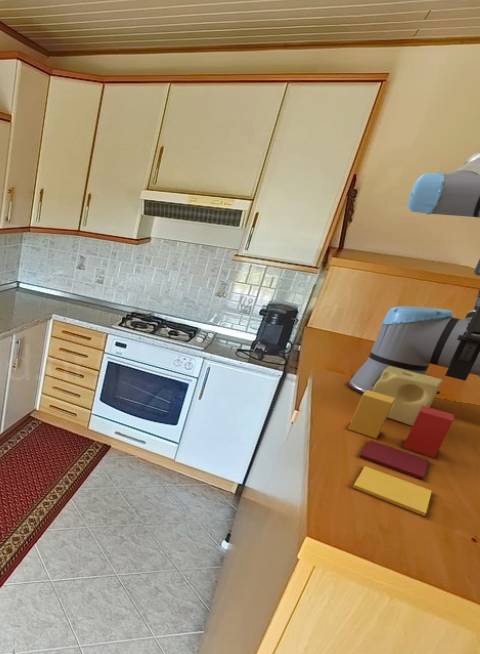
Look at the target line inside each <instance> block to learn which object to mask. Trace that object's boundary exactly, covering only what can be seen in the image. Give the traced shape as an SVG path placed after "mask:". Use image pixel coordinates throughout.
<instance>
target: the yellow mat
mask: <svg viewBox="0 0 480 654" xmlns="http://www.w3.org/2000/svg"><path fill="white" fill-rule="evenodd" d="M352 488H353V489H355V490H358V491H360V492H363V493H365V494H367V495H370V496H373V497H375V498H377V499H380V500H384V501H386V502H388V503H390V504H393V505H395V506H398V507H401V508H402V509H404V510H407V511H409V512H413V513H415V514H418V515H421V516H423V517H425V516H426V515H427V512H428V508H429V504H430V500H431V497H432V493H433V490H431V489H428V488H425V487H423V486H420V485H418V484H414V483H412V482H409V481H407V480H404V479H401V478H398V477H395V476H393V475H391V474H387V473H385V472H383V471H379V470H377V469H374V468H371V467H368V466H367V465H365V466H364V467H363V469H362V470H361V472H360V474H359V476H358V477H357V478H356V480H355V482H354V484H353V486H352Z"/></svg>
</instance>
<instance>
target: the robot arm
mask: <svg viewBox="0 0 480 654" xmlns="http://www.w3.org/2000/svg"><path fill="white" fill-rule="evenodd" d="M407 209H408V210H409V211H410V212H412V213H419V214H426V215H440V216H441V215H442V216H456V217H466V218H467V217H469V218H479V219H480V151H477V152H476V153H474V154H473V155H471V156H469V158H468V159H466V161H465V162H464V163H463V165H462V166H460V167H458V168H456V169H454V170H452V171H451V172H448V173H443V172H437V173H435V172H434V173H431V172H430V173H423V174H422V175H420V176H419V177H418V179H416V181H415V182H414V185H413V187H412V189H411V192H410V194H409V197H408V201H407ZM473 274H474V275H476V276H478V277H479V276H480V258H479V259H478V262H477V264H476V265H475V268H474V270H473ZM476 297H477V299H476V301H475V304H474V307H473V309H472V310H469V311H468V312H467V313H466V316H465V318H463V319H462V318H457V317H454V313H453V311H452V310H450V309H445V308H437V307H429V306H428V307H427V306H411V305H410V306H409V305H399V306H394V307H392V308H390V309H389V310H388V311H387V313H386V315H385V317H384V319H383V321H382V322H381V327H380V328H379V331H378V333H377V336H376V338H375V341H374V344H373V346H372V348H371V351H370V352H369V355H368V358H367V360H366V361H365V362H364V363H363V364H362V365H361V366H360V368H358V369H357V371H356V373H354V374H352V375H351V377H350V379H349V382H348V386H349V387H350V388H351V389H352V390H354V391H355V392H358V393H360V394H362V395H363V394H364V393H365V391H366V390H369V391H373V388H374V386H375V384H376V382H377V381H378V380H379V379H380V378H381V376H382V374H383V371H384V370H385V369H386V368H387V367H389V366H393V367H396V368H400V369H403V370H407V371H411V372H415V373H419V374H423V375H426V374H427V371H428V369H429V366H430V365H434V366H438V367H441V368H445V369H446V368H447V371H446V372H445V374H444V377H448V378H453V379H455V380H456V379H457V380H461V381H464V382H466V381H467V379H468V377H469V375H475V376H478V377H479V378H480V290H478V293H477V295H476ZM440 394H441V392H440V391H439V390H438V391H437V393H436V395H440Z"/></svg>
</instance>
